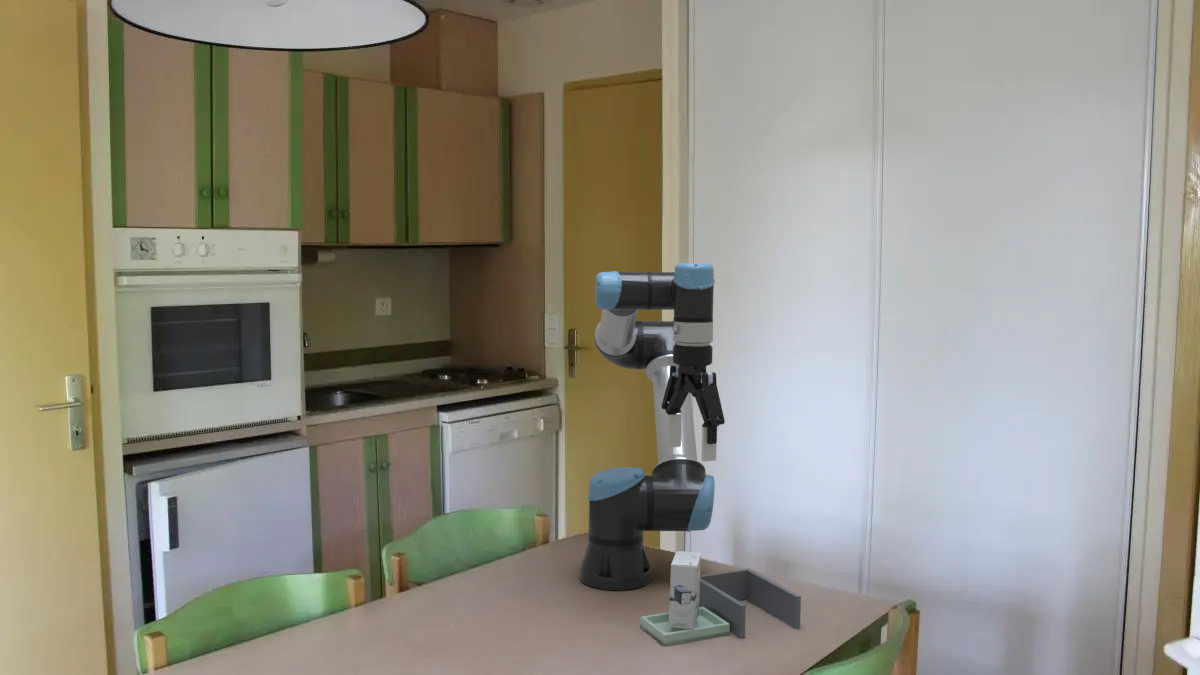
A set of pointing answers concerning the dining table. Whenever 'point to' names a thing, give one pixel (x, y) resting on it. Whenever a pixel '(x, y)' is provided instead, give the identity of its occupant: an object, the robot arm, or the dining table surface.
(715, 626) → the tray
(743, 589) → the printer bay
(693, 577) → the ink box
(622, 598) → the dining table surface
